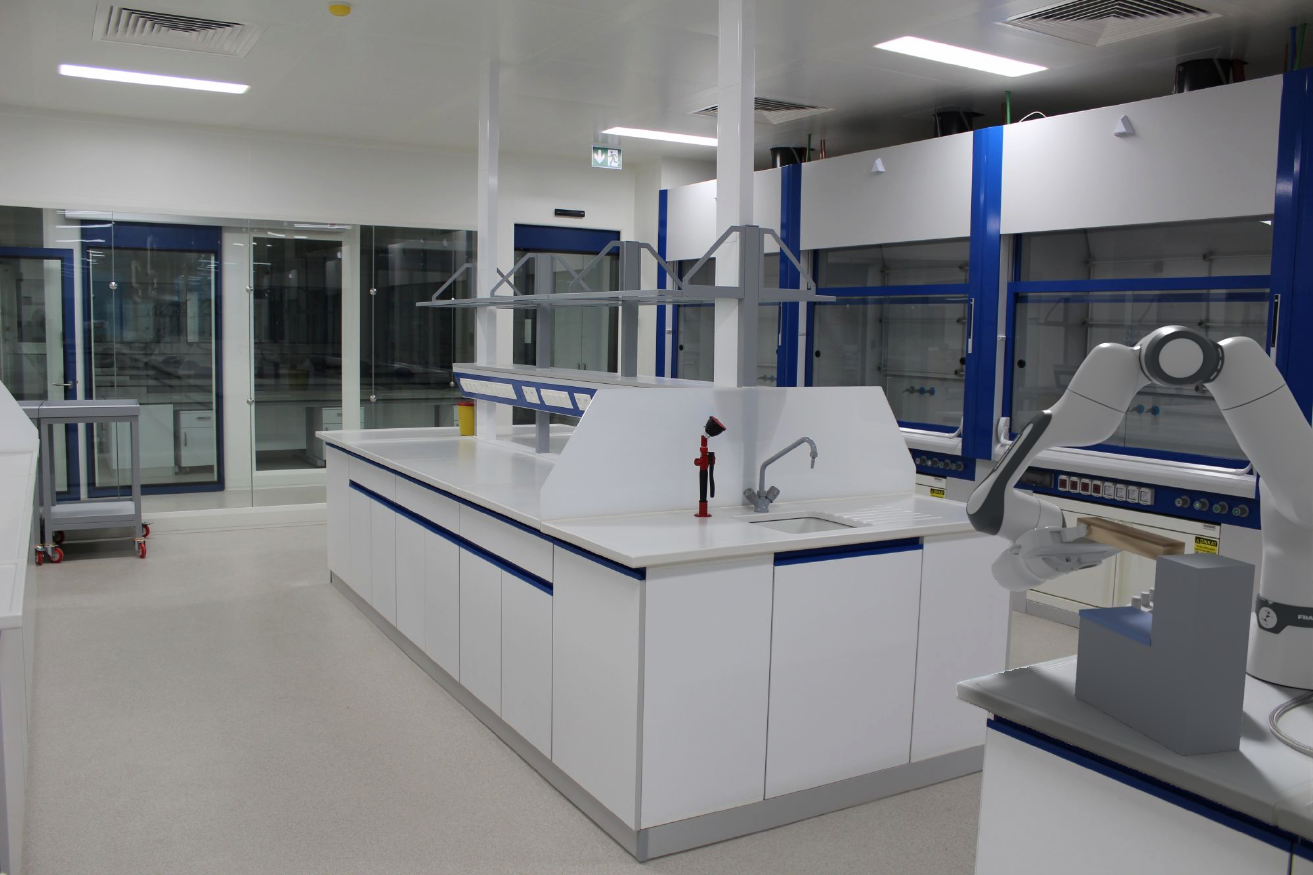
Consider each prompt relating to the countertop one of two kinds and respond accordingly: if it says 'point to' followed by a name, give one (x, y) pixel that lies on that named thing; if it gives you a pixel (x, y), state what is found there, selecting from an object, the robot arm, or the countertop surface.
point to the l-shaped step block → (1174, 655)
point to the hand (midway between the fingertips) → (1101, 527)
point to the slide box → (1131, 538)
